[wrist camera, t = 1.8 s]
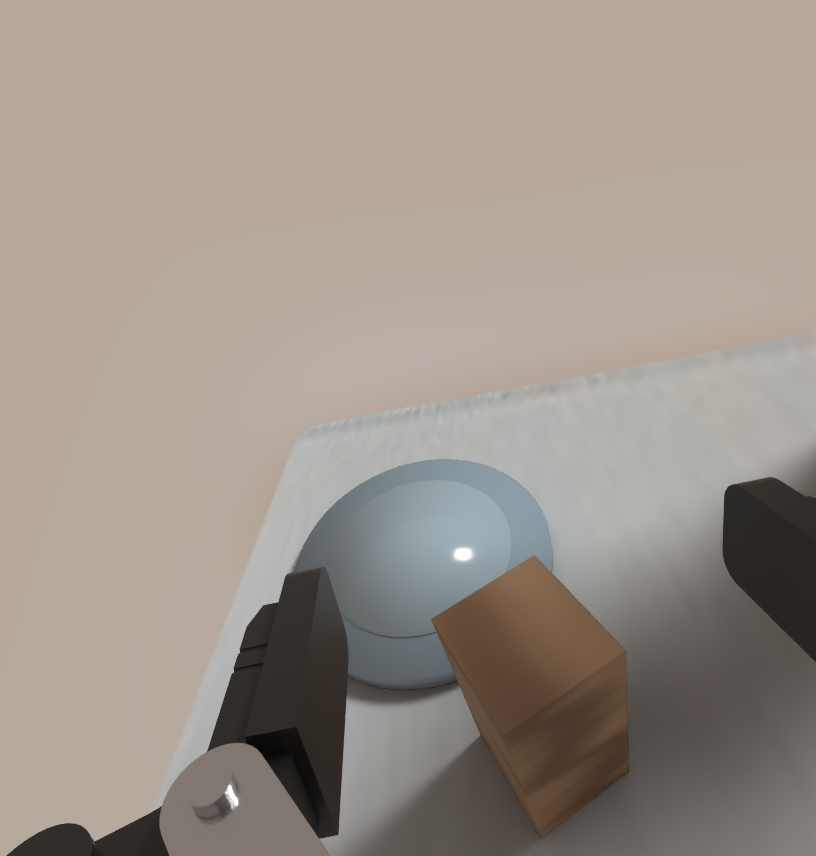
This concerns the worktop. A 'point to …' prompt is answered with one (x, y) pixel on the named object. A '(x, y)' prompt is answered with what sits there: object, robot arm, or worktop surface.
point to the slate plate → (419, 560)
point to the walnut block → (541, 689)
